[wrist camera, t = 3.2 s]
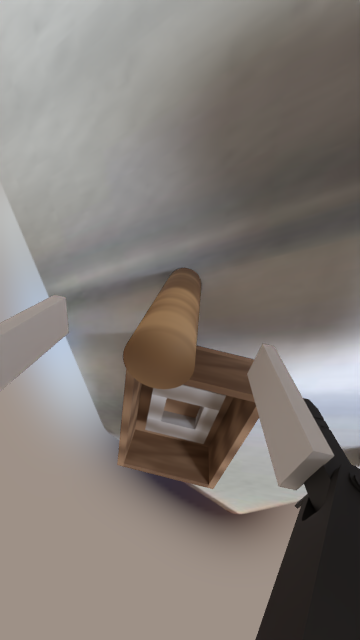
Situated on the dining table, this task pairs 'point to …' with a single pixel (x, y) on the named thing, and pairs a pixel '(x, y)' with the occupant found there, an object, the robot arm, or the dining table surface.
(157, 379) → the dowel
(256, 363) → the robot arm
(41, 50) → the dining table surface
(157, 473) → the box
